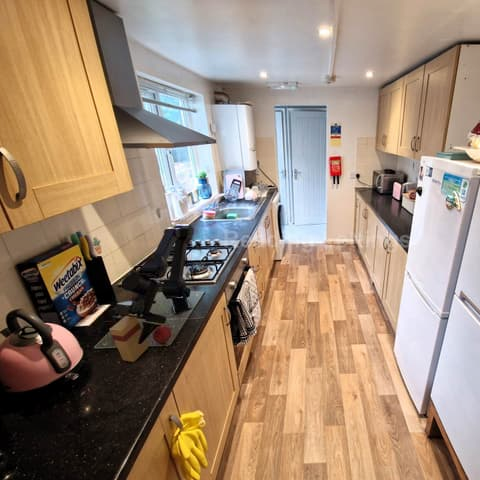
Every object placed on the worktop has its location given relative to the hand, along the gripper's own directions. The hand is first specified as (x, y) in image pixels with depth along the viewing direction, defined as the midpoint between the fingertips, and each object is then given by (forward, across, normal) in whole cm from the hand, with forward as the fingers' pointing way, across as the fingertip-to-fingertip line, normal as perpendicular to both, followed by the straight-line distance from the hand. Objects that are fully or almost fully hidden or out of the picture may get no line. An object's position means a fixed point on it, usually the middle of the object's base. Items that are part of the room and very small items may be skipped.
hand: (128, 341), depth 89 cm
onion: (-1, +5, +11) cm, 12 cm away
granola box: (+4, 0, +6) cm, 7 cm away
